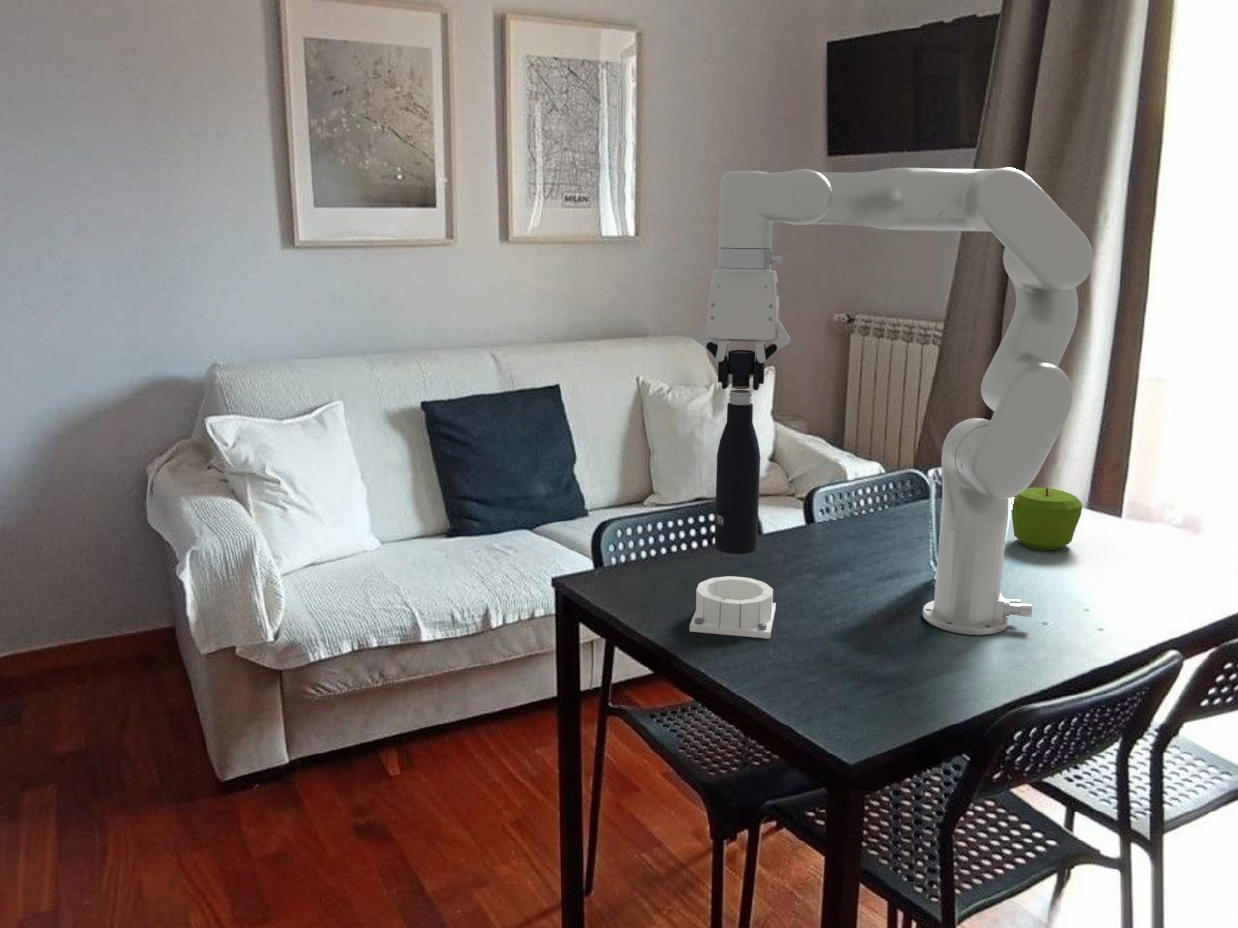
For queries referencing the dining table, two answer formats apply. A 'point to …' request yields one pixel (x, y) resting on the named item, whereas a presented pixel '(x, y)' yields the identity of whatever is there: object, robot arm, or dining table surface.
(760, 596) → the flange socket
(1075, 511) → the apple
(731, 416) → the dark blue bottle
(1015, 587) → the dining table surface
